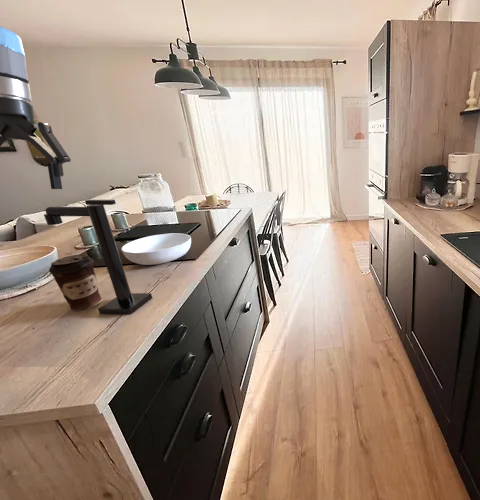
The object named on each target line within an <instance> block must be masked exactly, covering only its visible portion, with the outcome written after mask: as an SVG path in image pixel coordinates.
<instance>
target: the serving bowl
mask: <svg viewBox="0 0 480 500" xmlns="http://www.w3.org/2000/svg"><path fill="white" fill-rule="evenodd" d="M191 247H192V236H191V235H189V234H188V233H187V234H186V233H180V232H177V233H175V232H173V233H170V232H169V233H161V234H154V235H148V236H145V237H140V238H138V239H134V240H132V241H129V242H127V243H125V244H124V245H123V246H122V247H121V249H120V250H121V252H122V254H123V255H124V257H125V258H126V259H127V260H129V261H130V262H132V263H134V264H136V265H137V264H138V265H143V266H145V265H146V266H148V265H149V266H151V265H161V264H162V265H163V264H166V263H169V262H172V261H175V260H177V259H180V258H181V257H183V256H184V255H186V254H187V253H188V251H189V250H190V248H191Z"/></svg>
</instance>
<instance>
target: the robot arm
mask: <svg viewBox="0 0 480 500" xmlns="http://www.w3.org/2000/svg"><path fill="white" fill-rule="evenodd" d="M28 76H29V75H28V69H27V60H26V54H25V49H24V45H23V42H22V38H21V37H20V36H19V35H18V34H17V33H15V32H14V31H12V30H10V29H8V28H5V27H3V26H0V147H1V146H2V145H3V144H4V143H5V142H7V141H9V140H14V141H18V140H21V141H26V142H28V143H30V144H31V145H32V146H33V147H34V148H35V149H37V150H38V152H40V154H42V155H43V156H44V157H45V158H46V159H47V160H48V161H49V163H47V170H48V176H49V177H48V178H49V183H50V189H51V190H63V185H62V177H64V168H63V164H64V163H70V162H71V158H70V156H69V154H68V153H67V152H66V150H65V149H64V147H63V146H62V144H61V143H60V141H59V140H58V138H57V137H56V136H55V134H54V133H53V129H52V125H50V124H48V123H45V122H41V121H38V122H37V123H36V122H35V118H36V117H35V110H34V105H32V103H31V102H32V101H33V100H32V93H31V86H30V83H29V77H28ZM36 131H38V132H39V133H40V134H41V136H42V138H43V139H44V140H45V142H44V141H42V139H41V138H40V137H39V136H38V135H37V134H36V133H35V132H36ZM45 143H47V145H46V144H45Z"/></svg>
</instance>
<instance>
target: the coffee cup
mask: <svg viewBox="0 0 480 500" xmlns="http://www.w3.org/2000/svg"><path fill="white" fill-rule="evenodd" d="M94 268H95V267H94V258H92V257H90V256H89V255H88V254H86V253H81V254H80V253H79V254H73V255H67V256H64V257H61V258H58V259H56V260H55V261H52V262H51V263H50V267H49V270H48V272H49V274H51V276H52V277H53V278H54V281H55V282H56V284H57V286H58V288H59V290H60V292H61V293H62V296H63V298H64V300H65V301H66V302H67V304H68V305H69V307H70V310H72V311H81V310H86V309H90V308H92V307H94V306H97V305H98V304H100V303H101V302H102V301H103V298H102V296H101V294H100V292H99V288H98V280H97V275H96V272H95V269H94Z"/></svg>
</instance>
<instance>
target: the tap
mask: <svg viewBox="0 0 480 500" xmlns="http://www.w3.org/2000/svg"><path fill="white" fill-rule="evenodd" d="M84 202H85V205H86V206H48V207H47V208H45V213H44V214H43V217H44V220H45V222H46V224H47V226H56V225H61V224H63V219H62V217H89V219H90V221H91V225H92V228H93V231H94V234H95V236H96V239H97V242H98V245H99V248H100V252H101V255H102V257H103V261H104V264H105V266H106V269H107V272H108V276H109V279H110V282H111V285H112V288H113V291H114V293H115V296H116V297H114V298H112V299H111V300H109V301H108V302H106V303H104V304H103V305H101V306H100V307H98V308H97V311H98V314H99V315H132V314H134V313H135V312H137V310H139V309H140V308H142V307H143V306H144V305H145V304H147V303H148V302H149V301H151V300H152V299H153V295H152V293H151V292H149V293H147V292H144V293H143V292H131V289H130V286H129V281H128V279H127V276H126V272H125V270H124V269H125V268H124V265H123V262H122V259H121V257H120V253H119V250H118V246H117V243H116V240H115V237H114V234H113V231H112V227H111V224H110V221H109V218H108V214H107V211H106V208H105V206H113V205H116V204H117V203H116V200H115V199H85V200H84Z"/></svg>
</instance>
